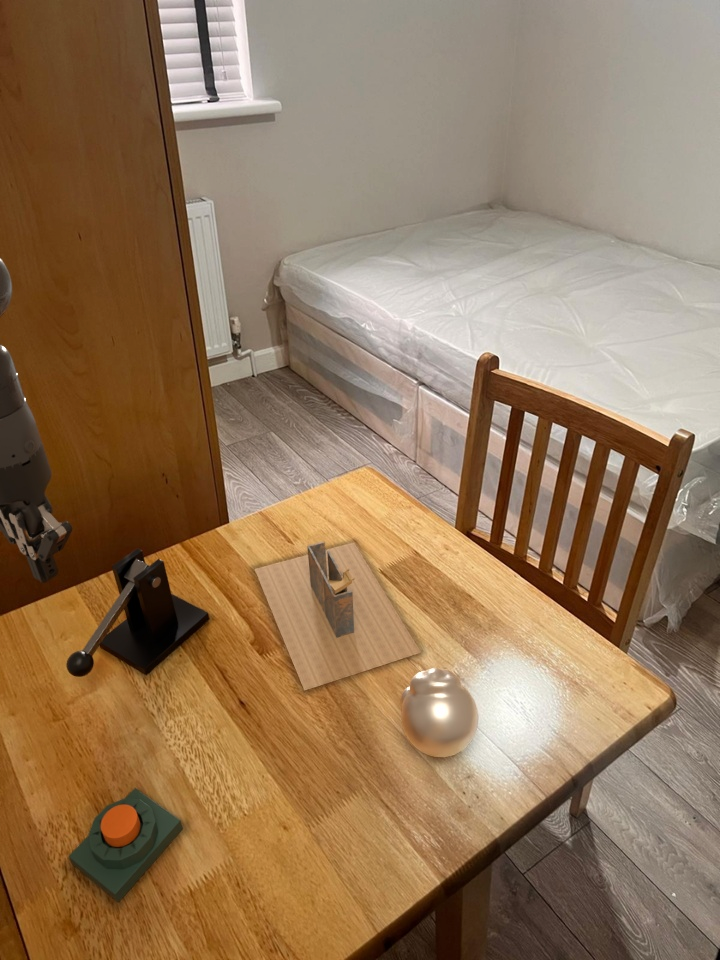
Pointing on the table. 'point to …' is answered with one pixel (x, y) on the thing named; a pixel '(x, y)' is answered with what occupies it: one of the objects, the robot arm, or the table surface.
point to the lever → (104, 625)
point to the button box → (126, 847)
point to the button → (120, 825)
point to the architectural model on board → (333, 614)
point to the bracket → (150, 617)
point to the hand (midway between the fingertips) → (47, 576)
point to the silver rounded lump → (438, 713)
